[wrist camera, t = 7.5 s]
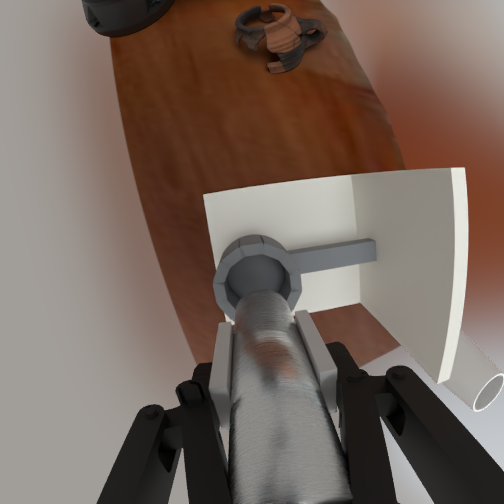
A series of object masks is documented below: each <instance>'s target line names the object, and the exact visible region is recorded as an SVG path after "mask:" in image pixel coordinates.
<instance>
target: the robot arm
mask: <svg viewBox="0 0 504 504" xmlns="http://www.w3.org/2000/svg"><path fill="white" fill-rule="evenodd" d="M173 2H174V0H82V3H83V8H84V12H85V16H86V20H87V22H88V24H89V25H90V26H91V27H92V28H93V29H94V30H95V31H96V32H97V33H98V34H100V35H103V36H108V37H118V36H124V35H128V34H131V33H134V32H137V31H139V30H141V29H143V28H145V27H147V26H149V25H151V24H152V23H154V22H155V21H156V20H158V19H159V18H160V17H161V16H162V15H164V14H165V13H166V12H167V10H168V9H169V8H170V7H171V5H172V4H173ZM295 319H296V326H297V329H298V331H299V334H300V336H301V339H302V342H303V344H304V347H305V349H306V352H307V355H308V357H309V360H310V362H311V365H312V368H313V370H314V373H315V375H316V378H317V381H318V383H319V386H320V389H321V391H322V394H323V397H324V399H325V402H326V405H327V407H328V410H329V413H330V414H331V413H335V412H337V406H338V409H339V428H340V434H341V445H342V448H343V450H344V453H345V456H346V459H347V463H348V469H349V476H350V484H351V493H352V496H353V499H352V500H351V504H400V503H398V502H397V500H396V494H395V488H394V482H393V477H392V472H391V467H390V461H389V456H388V452H387V447H386V443H385V438H384V433H383V429H382V425H381V421H380V417H381V418H382V420H383V421H384V423H385V425H386V426H387V428H388V429H389V431H390V432H391V434H392V436H393V437H394V439H395V440H396V442H397V444H398V445H399V447H400V448H401V450H402V452H403V453H404V455H405V456H406V458H407V460H408V461H409V463H410V464H411V466H412V468H413V469H414V471H415V472H416V474H417V476H418V477H419V479H420V481H421V482H422V484H423V486H424V487H425V488H426V490H427V492H428V494H429V495H430V497H431V499H432V500H433V502H434V504H504V471H503V470H502V469H501V468H500V467H499V465H498V464H497V463H496V462H495V461H494V460H493V458H492V457H491V456H490V455H489V454H488V453H487V451H486V450H485V449H484V448H483V447H482V446H481V444H480V443H479V442H478V441H477V440H476V439H475V438H474V437H473V435H472V434H471V433H470V432H469V431H468V430H467V429H466V428H465V426H464V425H463V424H462V423H461V422H460V421H459V420H458V419H457V418H456V416H455V415H454V414H453V413H452V412H451V411H450V410H449V409H448V408H447V407H446V406H445V404H444V403H443V402H442V401H441V400H440V399H439V398H438V397H437V396H436V395H435V394H434V393H433V391H432V390H430V388H429V387H428V386H427V385H426V384H425V383H424V382H423V381H422V380H421V379H420V378H419V377H418V376H417V374H416V373H415V372H413V370H412V369H410V368H409V367H406V366H394V367H391V368H389V369H388V370H387V372H386V375H385V376H369V375H368V373H367V372H366V371H364V370H362V369H359V368H358V366H357V365H356V363H355V361H354V360H353V358H352V356H350V353H349V352H348V350H347V349H346V347H345V345H343V344H341V343H340V342H333V343H329V344H324V342H323V340H322V338H321V336H320V334H319V332H318V330H317V328H316V326H315V324H314V322H313V321H312V319H311V317H310V315H309V313H308V311H307V309H306V310H301V311H295ZM233 341H234V333H233V328H232V323H231V321H230V322H222V323H219V326H218V332H217V338H216V345H215V351H214V357H213V362H210V363H200V364H198V366H197V367H196V368H195V369H194V372H193V377H192V380H188V381H184V382H182V383H181V384H179V385H178V386H177V387H176V390H175V391H176V394H177V396H178V399H179V402H180V404H181V405H180V406H178V407H176V408H173V409H169V410H164V409H163V407H162V406H160V405H156V404H153V405H148V406H145V407H143V408H142V409H140V411H139V412H138V414H137V416H136V418H135V420H134V422H133V424H132V426H131V428H130V430H129V433H128V435H127V437H126V439H125V441H124V444H123V446H122V448H121V450H120V452H119V454H118V456H117V459H116V461H115V463H114V465H113V467H112V470H111V472H110V474H109V476H108V479H107V481H106V483H105V485H104V488H103V490H102V492H101V495H100V497H99V499H98V502H97V504H168V501H169V497H170V493H171V489H172V485H173V480H174V477H175V473H176V469H177V465H178V461H179V457H180V453H181V448H183V449H184V462H185V472H186V480H187V490H188V498H189V504H232V499H231V494H230V489H229V484H228V462H227V458H226V454H225V450H224V446H223V441H222V437H221V434H220V431H219V427H220V426H221V429H222V430H229V429H230V404H231V382H232V361H233Z"/></svg>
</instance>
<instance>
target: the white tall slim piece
mask: <svg viewBox="0 0 504 504" xmlns="http://www.w3.org/2000/svg"><path fill="white" fill-rule="evenodd" d="M441 383H442V384H443V385H444V386H446V388H448V389H449V390H450V391H451V392H452V393H454V394H455V395H456V396H457V397H458V398H460V399H461V400H462V401H463V402H464V403H465V404H467V405H468V406H469V407H470V408H471V409H472V410H474V411H475V412H478V411H481V410H483V409H485V408H486V407H487V406H488V405H490V404H491V402H493V400H494V399H495V398H496V397H497V395H498V394H499V392H500V391H501V389H502V387H503V385H504V374H503V373H502V371H501V370H500V369H499V368H498V367H497V366H496V365H495V364H494V363H493V362H492V361H491V360H490V359H489V358H488V357H487V356H486V355H485V354H484V352H482V350H480V348H479V347H478V346H477V345H476V344H474V342H473V341H472V340H471V339H470V338H469V337H468V336H467V335H466V334H465V333H464V332H462V331H461V330H460V333H459V338H458V344H457V349H456V353H455V358H454V362H453V367H452V371H451V375H450V379H448V380H446V381H444V382H441Z"/></svg>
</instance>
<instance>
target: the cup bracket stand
mask: <svg viewBox="0 0 504 504" xmlns="http://www.w3.org/2000/svg"><path fill="white" fill-rule="evenodd" d="M203 197H204V203H205V209H206V215H207V221H208V227H209V233H210V239H211V244H212V250H213V255H214V261H215V266H216V273H215V276H214V280H213V287H214V292H215V297H216V302H217V305H218V306H219V307H220V308H221V309H222V310H223V312H224V313H225V318H226V322H230V321H231V323H232V325H234V322H235V310H236V306H237V304H238V302H239V301H240V299H241V298H242V297H243V296H245V295H246V294H247V293H249V292H251V291H254V290H258V289H268V290H272V291H275V292H277V293H279V294H280V295H281V296H283V297H284V299H285V300H286V301H287V303H288V306H289V308H290V311H291V313H292V316H294V315H295V311H301V310H306V309H307V311H308V313H311V312H316V311H322V310H327V309H332V308H337V307H342V306H347V305H351V304H356V303H361V304H362V305H363V306H364V307H365V308H366V309H367V310H368V311H369V312H370V313H371V314H372V315H373V316H374V317H375V318H376V319H377V320H378V321H379V322H380V323H381V324H382V325H383V327H384V328H385V329H386V330H387V331H388V332H389V333H390V334H391V335H392V336H393V337H394V338H395V339H396V340H397V341H398V342H399V343H400V344H401V346H402V347H403V348H404V349H405V350H406V351H407V352H408V353H409V354H410V355H411V356H412V357H413V358H414V359H415V361H416V362H417V363H418V364H419V365H420V366H421V367H422V368H423V369H424V370H425V371H426V372H427V374H428V375H429V376H430V377H431V378H432V379H433V380H434V381H435V382H436V384H439V383H441V382H444V381H446V380H448V379H450V375H451V371H452V367H453V362H454V358H455V353H456V349H457V344H458V338H459V333H460V326H461V320H462V314H463V306H464V298H465V288H466V276H467V260H468V204H467V188H466V176H465V168H439V169H419V170H402V171H388V172H376V173H365V174H354V175H344V176H334V177H324V178H315V179H306V180H297V181H289V182H282V183H274V184H267V185H260V186H253V187H246V188H240V189H233V190H227V191H221V192H215V193H209V194H203Z"/></svg>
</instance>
